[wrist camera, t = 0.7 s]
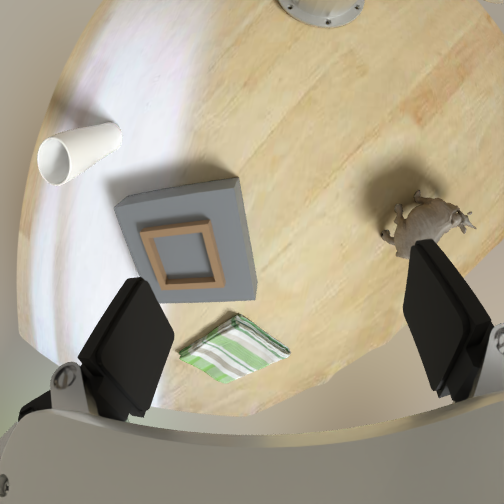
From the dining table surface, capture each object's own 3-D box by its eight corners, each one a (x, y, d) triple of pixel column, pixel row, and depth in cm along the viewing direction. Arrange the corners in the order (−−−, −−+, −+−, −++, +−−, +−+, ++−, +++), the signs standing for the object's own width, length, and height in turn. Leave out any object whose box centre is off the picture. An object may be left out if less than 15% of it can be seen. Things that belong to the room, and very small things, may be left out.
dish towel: (293, 349, 63) (293, 361, 60) (228, 380, 73) (226, 391, 70) (238, 309, 57) (236, 321, 54) (178, 350, 67) (174, 360, 64)
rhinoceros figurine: (361, 216, 41) (447, 243, 29) (402, 174, 44) (477, 189, 32) (371, 253, 45) (446, 284, 33) (409, 209, 48) (477, 229, 36)
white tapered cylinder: (94, 119, 38) (34, 138, 25) (127, 116, 38) (69, 134, 25) (96, 156, 42) (40, 186, 29) (128, 156, 41) (74, 187, 29)
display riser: (127, 196, 45) (109, 211, 40) (238, 177, 42) (232, 191, 37) (160, 287, 56) (149, 308, 50) (257, 282, 52) (254, 305, 47)
